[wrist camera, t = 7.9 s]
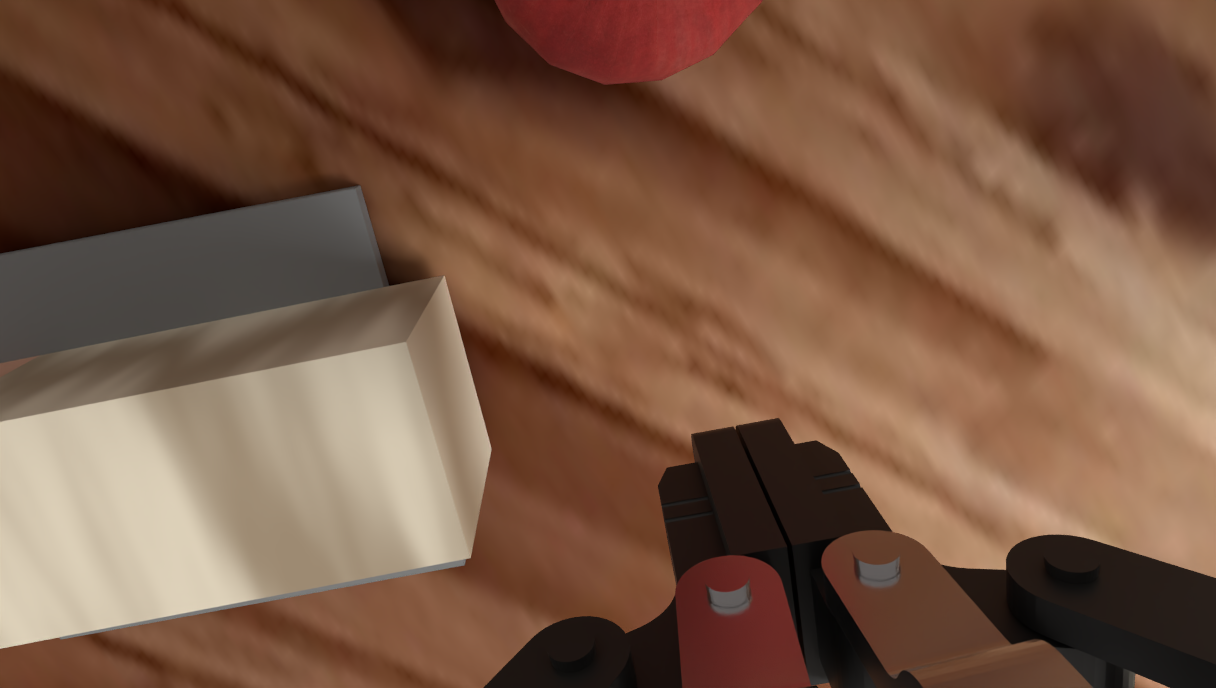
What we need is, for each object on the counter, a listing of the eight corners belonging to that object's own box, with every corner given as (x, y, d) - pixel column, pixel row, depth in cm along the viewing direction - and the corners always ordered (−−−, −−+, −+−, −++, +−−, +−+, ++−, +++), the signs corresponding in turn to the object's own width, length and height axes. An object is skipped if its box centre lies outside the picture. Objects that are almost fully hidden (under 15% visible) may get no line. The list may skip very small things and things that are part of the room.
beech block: (406, 341, 15) (-200, 461, 15) (470, 558, 17) (-74, 662, 17) (444, 274, 20) (-18, 366, 20) (491, 449, 21) (66, 531, 21)
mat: (359, 185, 19) (354, 188, 19) (466, 554, 23) (464, 565, 22) (-112, 275, 19) (-129, 280, 19) (70, 627, 23) (60, 639, 23)
